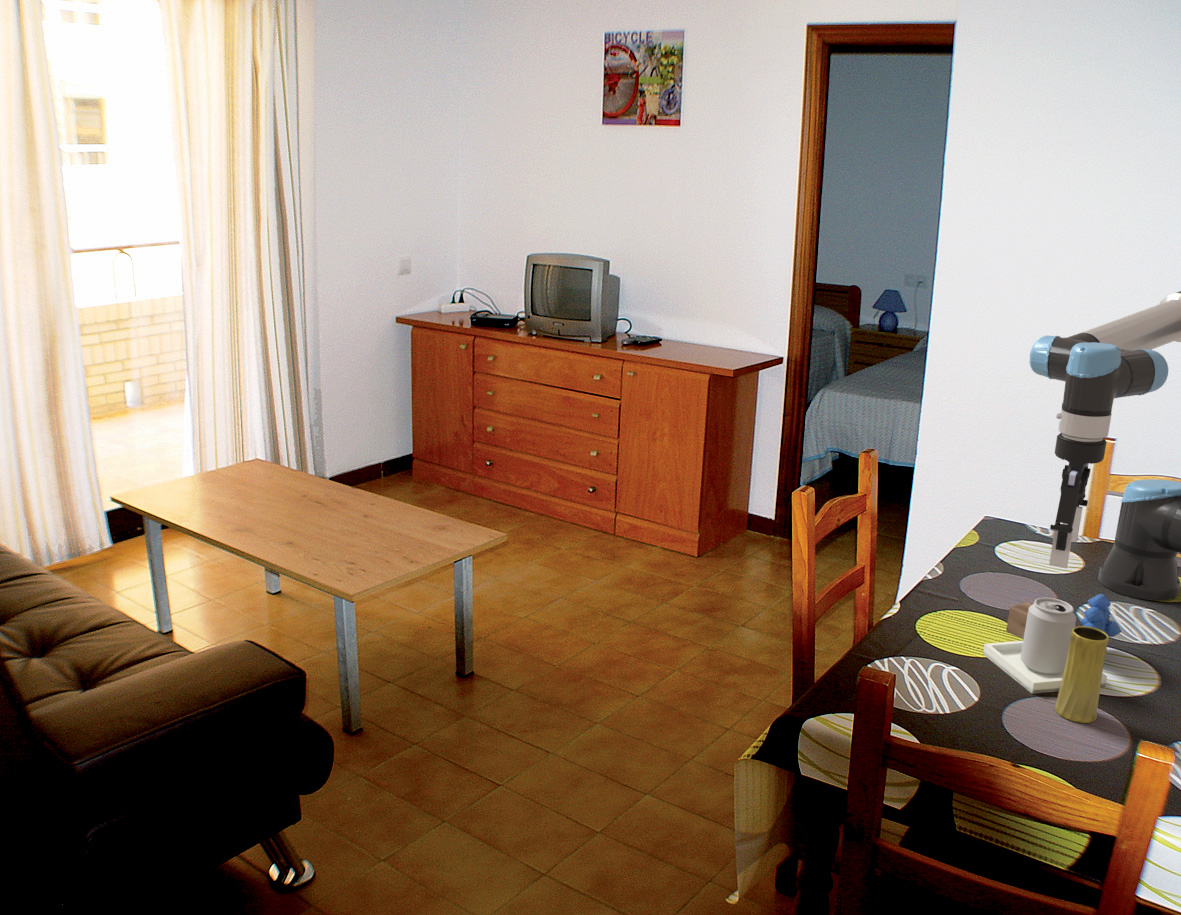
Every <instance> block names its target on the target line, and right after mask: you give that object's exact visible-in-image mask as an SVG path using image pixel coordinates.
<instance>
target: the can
mask: <svg viewBox="0 0 1181 915" xmlns="http://www.w3.org/2000/svg"><path fill="white" fill-rule="evenodd" d="M1074 610H1075V609H1074V606H1072V605H1071V604H1070V603H1068V602H1067V601H1064V600H1061V599H1058V598H1053V597H1044V596H1043V597H1039V598H1036V599H1035V600H1034V601H1033V604H1032V605H1031V606H1030V607H1029V610H1028V616H1027V621H1026V627H1025V633H1024V639H1022V641H1023V644H1022V650H1021V656H1020V657H1021V660H1022V662H1023V663H1024V664H1025V665H1026V667H1027V668H1029V669H1030V670H1032V671H1034V672H1037V673H1040V674H1045V675H1056V674H1059V673H1060V672H1063V671H1064V669H1065V664H1066V660H1067V655H1068V649H1069V643H1070V637H1071V633H1072V629H1073V628H1075V627H1076V622H1077V615H1076V614H1075V613H1074Z"/></svg>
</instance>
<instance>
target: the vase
mask: <svg viewBox="0 0 1181 915" xmlns="http://www.w3.org/2000/svg"><path fill="white" fill-rule="evenodd" d="M1109 641H1110V637H1109V636H1108V635H1107V634H1106V633H1105V632H1104V631H1102V630H1099V629H1097V628H1093V627H1087V626H1083V625H1078V626H1075V628H1073V629H1072V633H1071V637H1070V643H1069V649H1068V655H1067V660H1066V664H1065V669H1064V674H1063V678H1062V682H1061V685H1060V689H1059V691H1058V694H1057V698H1056V703H1055V705H1054V709H1055V712H1056V713H1057V714H1058V715H1059V716H1060V717H1062V718H1064V719H1065V720H1068V721H1070V722H1073V723H1074V722H1075V723H1080V724H1090V723H1094V722H1095V721H1096V720H1097V718H1098V707H1099V701H1100V700H1099V699H1100V693H1101V688H1102V687H1101V679H1102V673H1103V671H1104V666H1105V660H1106V656H1107V649H1108V644H1109Z"/></svg>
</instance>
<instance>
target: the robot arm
mask: <svg viewBox="0 0 1181 915" xmlns="http://www.w3.org/2000/svg"><path fill="white" fill-rule="evenodd" d="M1173 342H1177V343H1181V290H1179V291H1177V292H1174V293H1172V294H1169V295H1167V296H1165V297H1164V298H1163V299H1162V300H1161V301H1160V302H1159V304H1156V305H1155V306H1152V307H1149V308H1146V309H1142V310H1140V311H1137V312H1135V313H1131V314H1129V315H1127V316H1123V317H1120V318H1119V319H1115V320H1112V321H1109V322H1107V323H1104V324H1101V325H1099V326H1096V327H1093V328H1090V329H1088V330H1085V331H1082V332H1079V333H1077V334H1073V335H1070V336H1068V337H1061V336H1059V335H1043V336H1041V337H1039V339H1037V340H1036V341H1035V342H1034V344H1033V345H1032V347H1031V349H1030V352H1029V367H1030V368H1031V371H1033V373H1035V374H1036V375H1039V376H1042V377H1045V378H1048V379H1049V380H1057V381H1059V382H1065V384H1064V392H1063V400H1062V403H1061V412H1060V413H1059V412H1058V413H1057V414H1056V416H1055V417H1056V419H1058V420H1060V421H1059V424H1058V432H1060V433H1058V435H1057V436H1056V441H1055V448H1054V455H1055V456H1056V457H1057V458H1059V459H1061V460H1063V461H1067V462H1068V465H1067V464H1065V465H1064V468H1063V469H1062V472H1061V479H1062V480H1061V485H1060V496H1059V503H1058V508H1057V512H1056V516H1055V523H1054V524H1050V527H1049V529H1050V530H1052V531H1053V538H1052V545H1051V551H1050V558H1049V563H1048V564H1049V566H1052V567H1057V568H1063V569H1067V568H1068V565H1069V559H1070V552H1071V546H1072V543H1078V538H1079V532H1080V526H1081V519H1082V514H1083V507H1088V502H1089V501H1088V500H1087V499H1085V498H1086V489H1087V488H1086V487H1087V485H1088V481H1089V478H1090V474H1091V468H1089V464H1091V465H1093V464H1099V463H1101V462H1103V460H1104V459H1105V453H1106V447H1107V440H1106V438H1107V437H1108V436H1109V433H1110V432H1109V431H1110V425H1111V420H1112V410H1113V405H1114V400H1115V399H1118V398H1125V397H1132V396H1143V395H1146V394H1149V393H1152V392H1155V391H1158V390H1159V389H1160V388H1162V387H1163V386H1164V385H1165V383H1166V381H1167V379H1168V376H1169V366H1168V362H1167V360H1166V359H1165V357H1164V356H1163V355H1162V353H1160V352H1158V351H1157V350H1153V349H1156V348H1159V347H1162V346H1165V345H1167V344H1170V343H1173ZM1120 502H1121V505H1120V510H1119V515H1118V520H1117V526H1116V531H1115V536H1114V542H1113V545H1112V548H1111V550H1110V551H1109V553H1108V555H1107V557H1106V558H1105V560H1104V562H1103V563H1102V564H1101V566H1100V568H1099V572H1098V574H1097V575H1098V577H1097V579H1098V582H1099V584H1101V585H1102V586H1104V587H1105V588H1106V589H1109V590H1111V591H1113V592H1115V593H1118V594H1121V595H1123V596H1127V597H1131V598H1136V599H1140V600H1141V599H1142V600H1146V601H1169V600H1174V599H1176V598H1177V597H1178V596H1179V595H1180V594H1179V593H1180V589H1181V580H1180V576H1179V567H1178V562H1177V557H1178V554H1180V555H1181V481H1176V480H1169V479H1154V478H1153V479H1150V478H1149V479H1148V478H1147V479H1139V480H1133V481H1131V482H1129V483H1128V484H1126V486H1125V489H1124V491H1123V495H1122V498H1121V500H1120Z"/></svg>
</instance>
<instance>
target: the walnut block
mask: <svg viewBox="0 0 1181 915" xmlns="http://www.w3.org/2000/svg"><path fill="white" fill-rule="evenodd" d="M1031 605H1033V604H1031V603H1029V602H1027V601H1025V602H1022V603H1019V604H1016V605H1014V606H1010V607H1009V610H1008V617H1007V622H1006V630H1005V632H1006V633H1009V634H1010V635H1013V636H1015V637H1017V638H1019V639H1022V640H1023V639H1024V633H1025V627H1026V621H1027V616H1028V610H1029V607H1030V606H1031Z"/></svg>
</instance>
